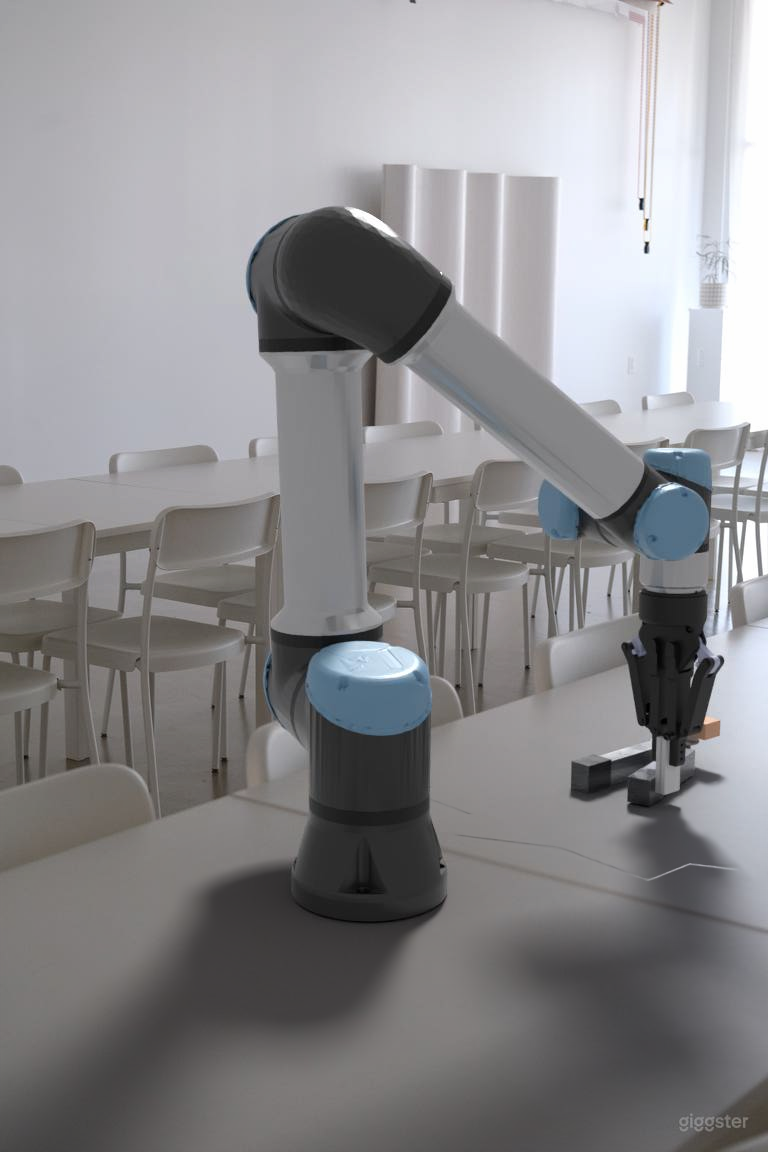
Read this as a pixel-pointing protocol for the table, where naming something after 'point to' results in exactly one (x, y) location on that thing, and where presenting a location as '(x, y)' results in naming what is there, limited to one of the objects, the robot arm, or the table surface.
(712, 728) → the tab
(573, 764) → the tong fixed
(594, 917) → the table surface
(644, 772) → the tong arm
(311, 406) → the robot arm
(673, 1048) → the table surface
